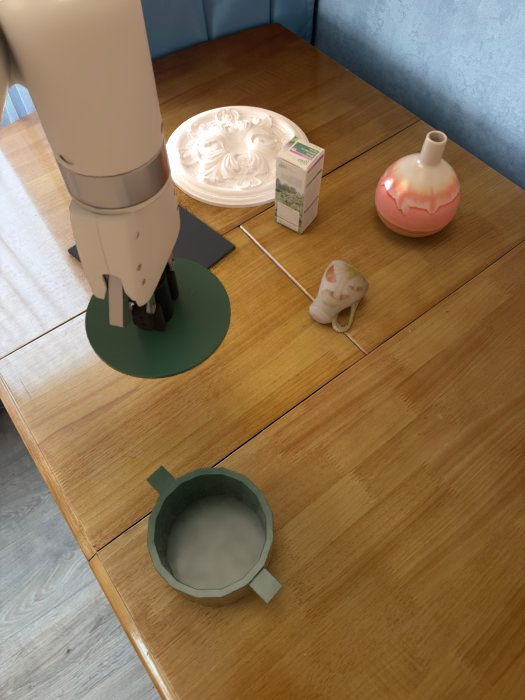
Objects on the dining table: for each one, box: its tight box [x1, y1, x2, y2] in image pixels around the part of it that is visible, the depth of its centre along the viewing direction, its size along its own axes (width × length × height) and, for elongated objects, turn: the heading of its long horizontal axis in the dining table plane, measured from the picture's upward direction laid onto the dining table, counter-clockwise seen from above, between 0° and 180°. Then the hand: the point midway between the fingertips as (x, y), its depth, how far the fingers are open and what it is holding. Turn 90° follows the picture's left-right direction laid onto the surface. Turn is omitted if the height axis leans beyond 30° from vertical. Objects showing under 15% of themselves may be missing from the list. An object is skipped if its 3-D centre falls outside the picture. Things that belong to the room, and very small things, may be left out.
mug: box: [308, 259, 370, 333], centre depth 81 cm, size 8×10×10 cm
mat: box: [67, 203, 237, 270], centre depth 89 cm, size 20×20×1 cm
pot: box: [145, 465, 284, 607], centre depth 61 cm, size 14×19×10 cm
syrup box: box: [274, 136, 326, 235], centre depth 87 cm, size 6×6×14 cm
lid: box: [84, 257, 232, 380], centre depth 51 cm, size 15×15×7 cm
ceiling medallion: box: [166, 105, 310, 209], centre depth 100 cm, size 28×28×3 cm
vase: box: [374, 130, 462, 238], centre depth 85 cm, size 14×14×18 cm
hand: (157, 309), depth 53 cm, fingers closed on lid, 3 cm apart
